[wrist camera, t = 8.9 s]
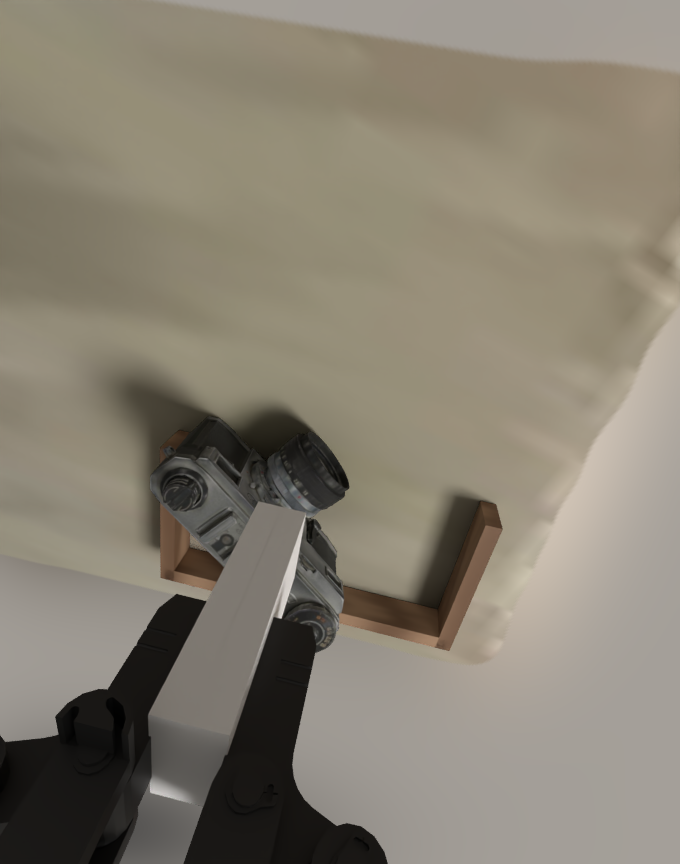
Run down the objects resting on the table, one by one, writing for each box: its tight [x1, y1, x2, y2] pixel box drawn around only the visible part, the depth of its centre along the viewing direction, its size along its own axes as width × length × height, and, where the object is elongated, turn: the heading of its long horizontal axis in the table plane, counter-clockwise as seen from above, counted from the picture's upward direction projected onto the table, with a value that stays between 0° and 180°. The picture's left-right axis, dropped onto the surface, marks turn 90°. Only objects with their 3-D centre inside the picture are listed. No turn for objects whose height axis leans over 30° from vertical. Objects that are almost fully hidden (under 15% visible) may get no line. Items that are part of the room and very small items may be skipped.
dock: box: [160, 430, 502, 651], centre depth 37 cm, size 25×13×4 cm, turn 80°
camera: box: [150, 416, 349, 653], centre depth 33 cm, size 18×9×10 cm, turn 38°
